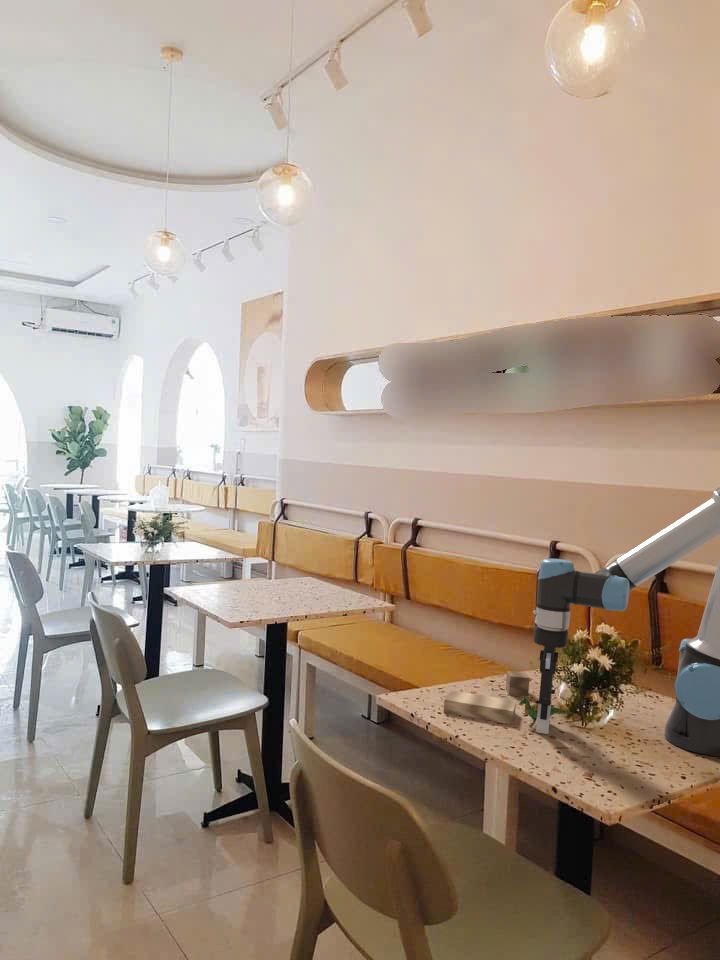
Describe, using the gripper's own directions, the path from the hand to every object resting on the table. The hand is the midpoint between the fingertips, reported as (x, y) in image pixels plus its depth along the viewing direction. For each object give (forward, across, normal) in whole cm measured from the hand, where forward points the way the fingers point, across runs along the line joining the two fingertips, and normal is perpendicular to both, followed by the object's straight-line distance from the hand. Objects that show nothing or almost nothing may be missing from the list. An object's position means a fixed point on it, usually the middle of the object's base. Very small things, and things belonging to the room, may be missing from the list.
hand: (542, 726), depth 162 cm
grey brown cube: (0, -24, -8) cm, 25 cm away
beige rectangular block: (0, -3, -15) cm, 15 cm away
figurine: (+1, 0, 0) cm, 1 cm away
